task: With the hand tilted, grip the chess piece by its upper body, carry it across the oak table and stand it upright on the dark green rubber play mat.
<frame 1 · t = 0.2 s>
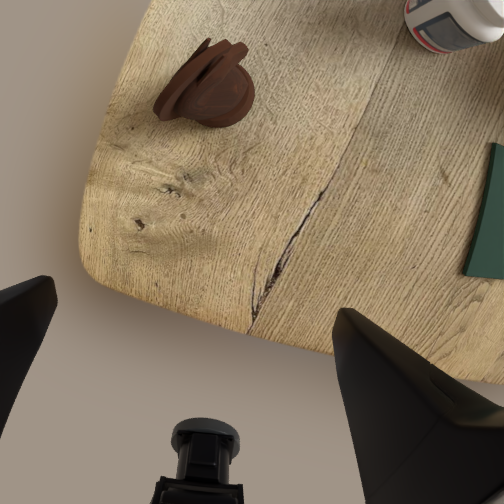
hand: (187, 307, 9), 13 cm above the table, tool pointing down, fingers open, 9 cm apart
pill bottle: (429, 24, 17), on the table
chess piece: (216, 96, 19), on the table
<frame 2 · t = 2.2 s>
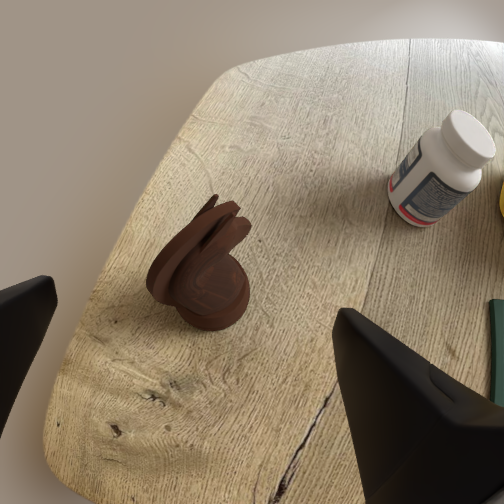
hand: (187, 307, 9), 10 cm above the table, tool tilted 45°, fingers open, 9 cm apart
pill bottle: (412, 200, 24), on the table
chess piece: (208, 297, 20), on the table
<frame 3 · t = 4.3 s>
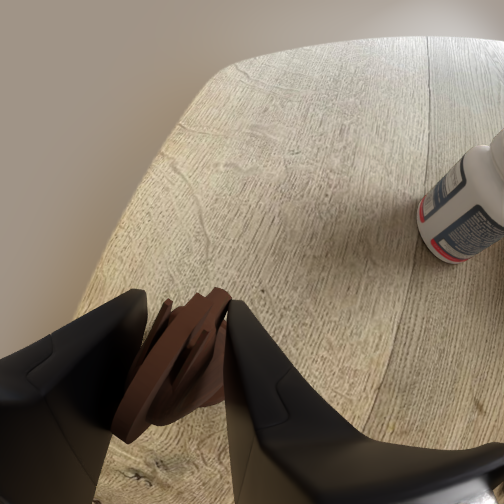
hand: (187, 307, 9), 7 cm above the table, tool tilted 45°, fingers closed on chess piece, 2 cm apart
pill bottle: (442, 230, 19), on the table
chess piece: (195, 363, 15), on the table, touching gripper
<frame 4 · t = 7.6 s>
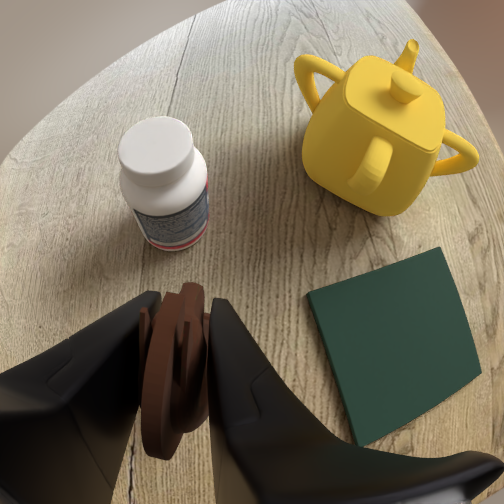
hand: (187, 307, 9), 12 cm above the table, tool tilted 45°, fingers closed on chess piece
pill bottle: (174, 220, 24), on the table
play mat: (406, 340, 22), on the table
teapot: (359, 159, 27), on the table
chess piece: (200, 365, 15), point 5 cm above the table, touching gripper
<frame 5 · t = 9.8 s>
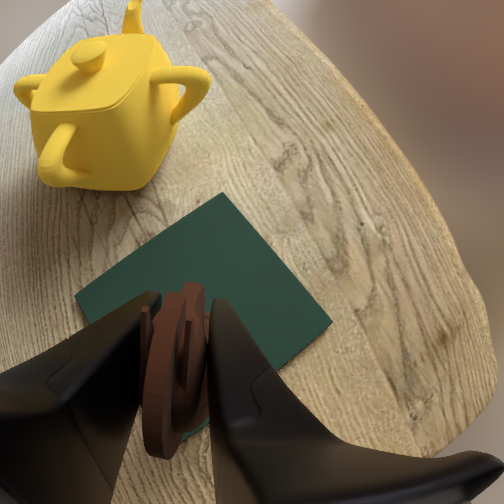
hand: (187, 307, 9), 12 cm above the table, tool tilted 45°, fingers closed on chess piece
play mat: (198, 313, 21), on the table
teapot: (122, 139, 25), on the table
chess piece: (200, 364, 15), point 5 cm above the table, touching gripper
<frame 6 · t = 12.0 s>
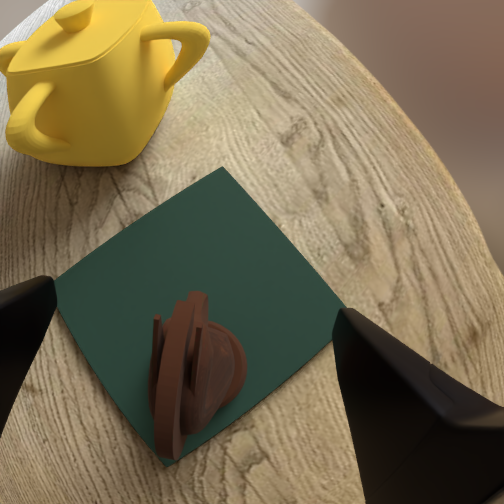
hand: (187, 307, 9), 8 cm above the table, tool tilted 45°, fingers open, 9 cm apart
play mat: (193, 308, 17), on the table
teapot: (110, 114, 21), on the table
chess piece: (200, 370, 15), resting on play mat
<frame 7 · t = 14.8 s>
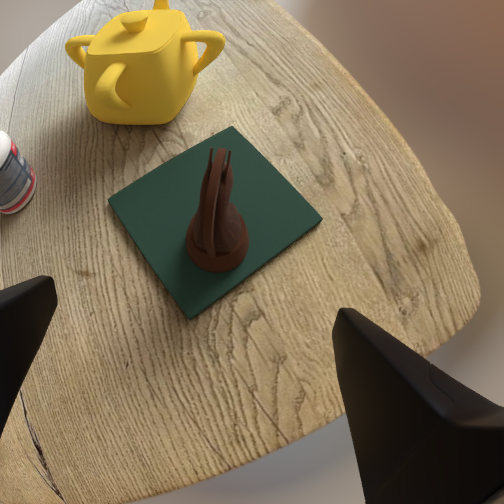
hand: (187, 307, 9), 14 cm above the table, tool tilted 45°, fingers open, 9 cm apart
pill bottle: (17, 192, 25), on the table
play mat: (212, 210, 25), on the table
teapot: (149, 93, 30), on the table
chess piece: (216, 247, 24), resting on play mat
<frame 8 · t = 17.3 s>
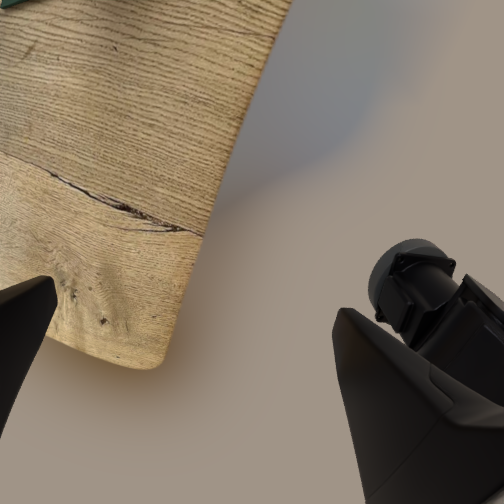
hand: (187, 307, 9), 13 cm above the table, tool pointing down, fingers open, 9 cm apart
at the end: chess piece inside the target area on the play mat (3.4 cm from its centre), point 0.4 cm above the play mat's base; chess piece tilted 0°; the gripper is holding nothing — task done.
